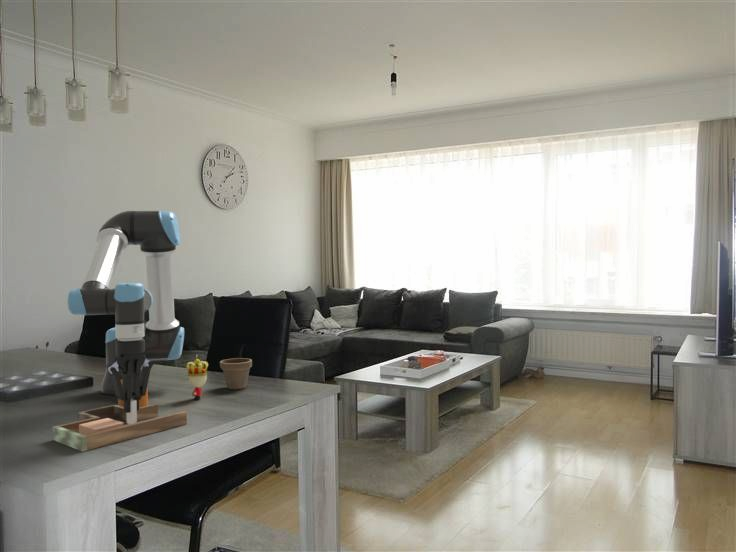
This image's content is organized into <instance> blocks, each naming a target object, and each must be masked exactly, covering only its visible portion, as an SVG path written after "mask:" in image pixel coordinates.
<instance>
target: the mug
mask: <svg viewBox="0 0 736 552" xmlns="http://www.w3.org/2000/svg"><path fill="white" fill-rule="evenodd" d="M121 383H122V380H121ZM148 391H149V385H147V390H146V395H145V396H142V397H141V399H140V400H139V408H140V407H144V406H149V392H148ZM131 399H132V397H131ZM117 405H119V406H122V407H124V401H123V400H119V399H117Z"/></svg>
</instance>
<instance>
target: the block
mask: <svg viewBox="0 0 736 552" xmlns="http://www.w3.org/2000/svg"><path fill="white" fill-rule="evenodd" d="M122 426H125V423H123V422H120V421H116V420H113V419H110V418H105V419H101V420H97V421H92V422H88V423H84V424H79V434H82V435H84V436H85V435H89V434H93V433H97V432H101V431H105V430H109V429H113V428H117V427H122Z"/></svg>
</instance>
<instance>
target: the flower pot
mask: <svg viewBox="0 0 736 552" xmlns="http://www.w3.org/2000/svg"><path fill="white" fill-rule="evenodd" d="M219 366H220V367H219V368H220V369H221V370H222V372H223V377H224V380H225V383H226V386H227V388H228V390H241V389H242V390H243V389H245V388H246V387H247V385H248V380H249V373H250V370H251V368H252V367H253V359H251V358H247V357H246V358H245V357H244V358H243V357H239V358H238V357H236V358H228V359H222V360H220V361H219Z"/></svg>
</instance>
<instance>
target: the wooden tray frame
mask: <svg viewBox="0 0 736 552" xmlns="http://www.w3.org/2000/svg"><path fill="white" fill-rule="evenodd" d="M76 415H77V416H76V417H77V419H76V420H77V421H72V422H69V423H64V424H60V425H55V426H52V440H53V441H54V442H57V443H60V444H62V445H65V446H67V447H70V448H73V449H75V450H76V451H80V452H82V453H83V452H87V451H90V450H93V449H97V448H102V447H105V446H108V445H113V444H117V443H120V442H124V441H128V440H131V439H136V438H139V437H143V436H147V435H151V434H154V433H158V432H162V431H166V430H170V429H174V428H177V427H181V426H184V425H185V426H186V425H187V424H188V417H187V415H188V413H187V411H185V410H184V411H180V412H176V413H172V414H171V413H170V414H168V415H163V416H160V417H159V404H157V403H154V404H148V406H144V407H140V408H139V410H138V411H137V423H134V424H127V413H126V412H124V407H122V406H119V405H118V404H112V405H106V406H100V407H97V408H92V409H91V408H90V409H87V410H83V411H78V412H77V414H76ZM105 418H110V419H113V420H116V421H120V422H123V423H124V424H126V425H124V426H122V427H117V428H113V429H109V430H105V431H101V432H97V433H93V434H89V435H85V436H84V435H82V434H79V424H84V423H88V422H92V421H97V420H101V419H105Z"/></svg>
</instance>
